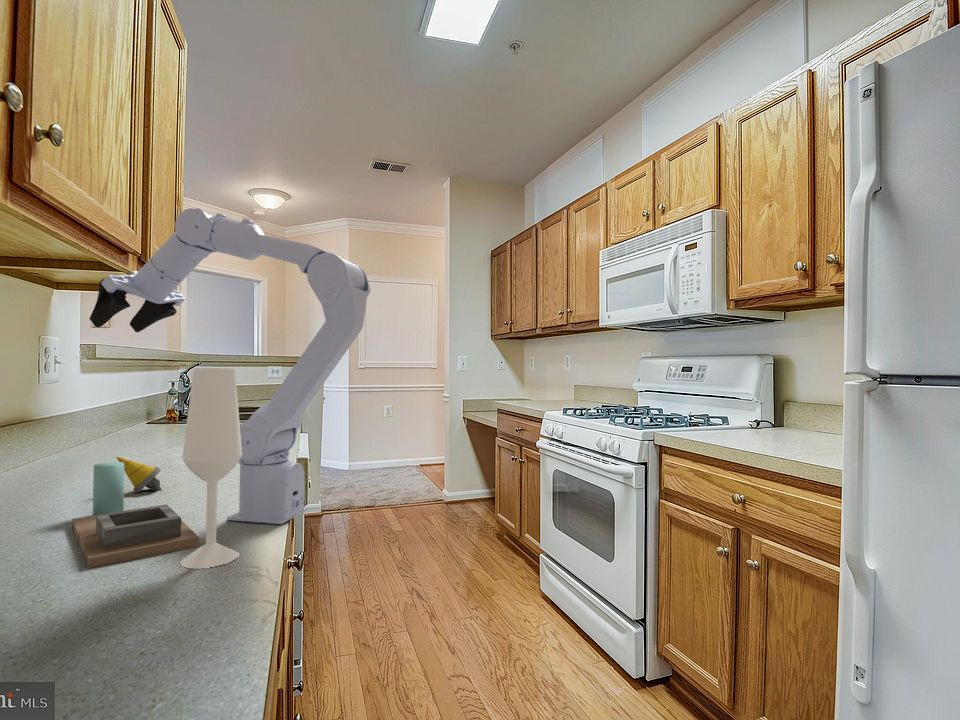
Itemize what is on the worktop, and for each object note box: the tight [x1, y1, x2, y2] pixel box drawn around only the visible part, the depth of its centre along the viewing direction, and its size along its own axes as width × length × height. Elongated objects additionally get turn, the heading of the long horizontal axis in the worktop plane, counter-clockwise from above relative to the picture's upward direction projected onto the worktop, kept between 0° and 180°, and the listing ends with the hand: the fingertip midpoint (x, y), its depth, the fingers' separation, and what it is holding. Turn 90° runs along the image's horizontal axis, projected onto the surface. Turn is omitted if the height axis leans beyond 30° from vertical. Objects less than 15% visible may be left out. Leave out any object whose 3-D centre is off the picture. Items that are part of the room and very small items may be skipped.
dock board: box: [71, 504, 200, 569], centre depth 74 cm, size 20×12×4 cm, turn 42°
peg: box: [92, 461, 125, 516], centre depth 84 cm, size 4×4×8 cm
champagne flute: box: [180, 367, 242, 570], centre depth 67 cm, size 7×7×24 cm
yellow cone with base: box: [116, 456, 163, 494], centre depth 98 cm, size 5×5×10 cm
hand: (114, 325), depth 90 cm, fingers open, 7 cm apart
